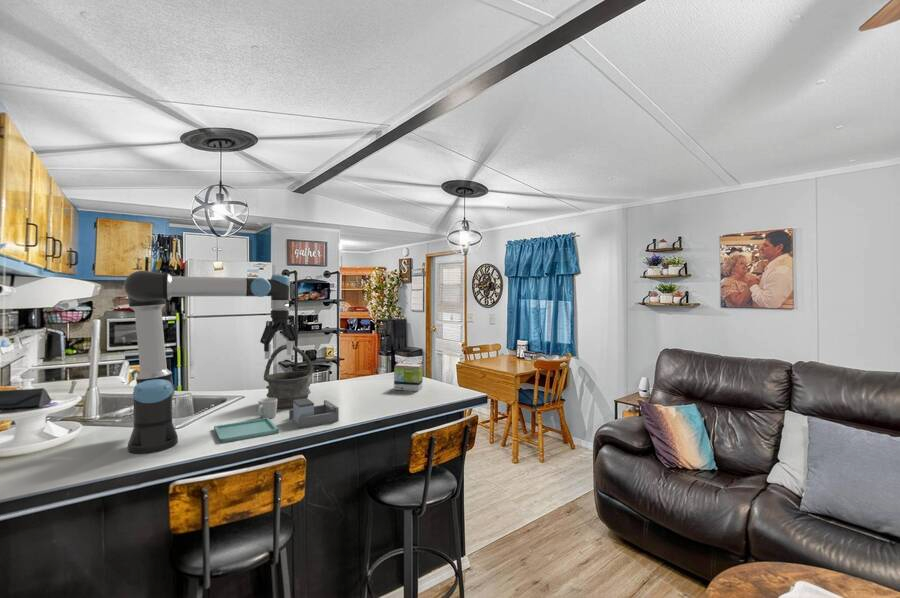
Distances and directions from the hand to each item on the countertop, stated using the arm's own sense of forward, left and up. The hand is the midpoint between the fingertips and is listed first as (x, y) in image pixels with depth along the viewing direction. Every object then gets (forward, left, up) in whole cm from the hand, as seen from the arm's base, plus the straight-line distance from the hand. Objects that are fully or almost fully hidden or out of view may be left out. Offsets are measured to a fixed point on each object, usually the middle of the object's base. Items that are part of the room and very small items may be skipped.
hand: (279, 356), depth 191 cm
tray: (-15, -11, -28) cm, 34 cm away
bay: (+12, -11, -28) cm, 32 cm away
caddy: (+8, -11, -28) cm, 31 cm away
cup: (-5, +3, -28) cm, 28 cm away
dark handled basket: (+10, +24, -28) cm, 38 cm away
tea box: (+77, +18, -28) cm, 84 cm away
